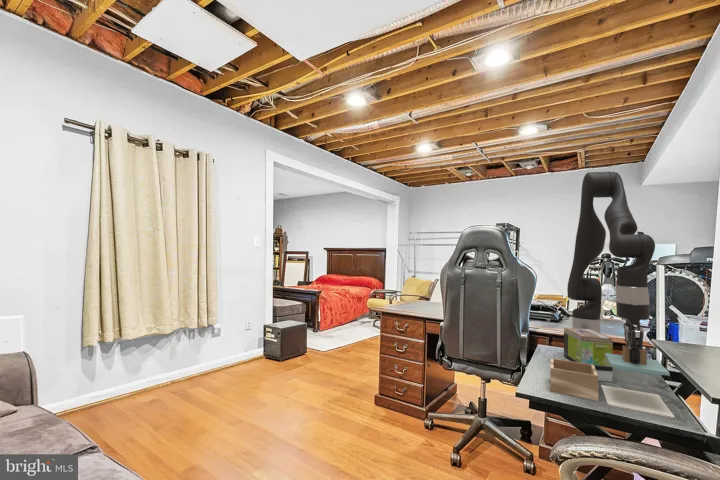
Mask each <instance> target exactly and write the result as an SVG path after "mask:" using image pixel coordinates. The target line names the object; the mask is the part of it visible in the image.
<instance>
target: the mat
mask: <svg viewBox="0 0 720 480" xmlns="http://www.w3.org/2000/svg"><path fill="white" fill-rule="evenodd" d="M600 387H601V390H602V392H603V395H604V398H605V401H606V403H607V406H610V407H615V408H620V409H625V410H631V411H635V412H641V413H645V414H650V415H655V416H659V417H660V416H661V417H666V418H671V419H675V418H676V417H675V415H674V414H673V413H672V411H671V410H670V408H669V407H668V406H667V405H666V403H665V402H664V401H663V399H662V397H660V395H659V394H655V393H649V392H645V391H638V390H631V389H627V388H622V387H616V386H610V385H604V384H601V385H600Z"/></svg>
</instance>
